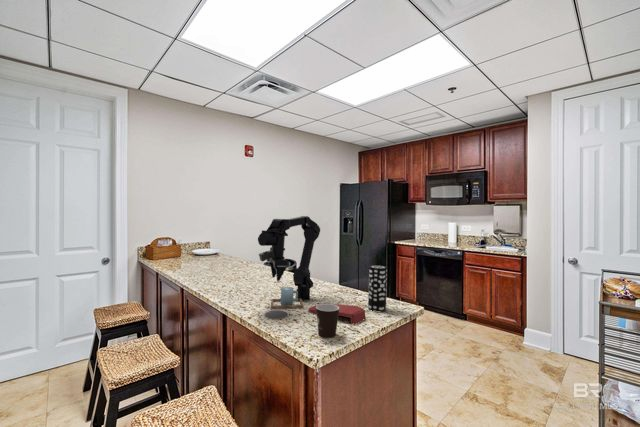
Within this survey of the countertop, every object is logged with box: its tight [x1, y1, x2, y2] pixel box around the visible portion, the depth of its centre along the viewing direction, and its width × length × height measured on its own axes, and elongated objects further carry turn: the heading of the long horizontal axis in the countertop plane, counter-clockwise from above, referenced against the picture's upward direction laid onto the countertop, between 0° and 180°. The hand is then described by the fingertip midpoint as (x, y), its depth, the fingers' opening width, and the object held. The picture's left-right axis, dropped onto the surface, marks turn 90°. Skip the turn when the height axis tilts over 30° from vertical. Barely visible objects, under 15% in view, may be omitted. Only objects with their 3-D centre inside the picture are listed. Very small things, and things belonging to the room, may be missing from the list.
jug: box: [280, 286, 299, 306], centre depth 144 cm, size 8×6×8 cm
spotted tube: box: [367, 264, 388, 312], centre depth 140 cm, size 8×8×20 cm
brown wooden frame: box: [270, 297, 304, 310], centre depth 144 cm, size 15×12×1 cm
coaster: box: [264, 309, 289, 320], centre depth 129 cm, size 10×10×1 cm
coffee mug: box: [315, 303, 339, 339], centre depth 111 cm, size 12×9×10 cm
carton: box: [307, 303, 367, 325], centre depth 131 cm, size 12×5×25 cm
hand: (275, 279), depth 138 cm, fingers open, 9 cm apart
